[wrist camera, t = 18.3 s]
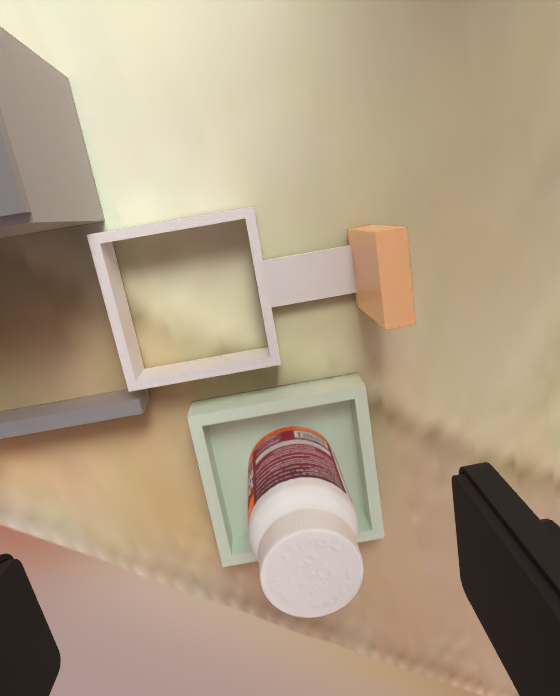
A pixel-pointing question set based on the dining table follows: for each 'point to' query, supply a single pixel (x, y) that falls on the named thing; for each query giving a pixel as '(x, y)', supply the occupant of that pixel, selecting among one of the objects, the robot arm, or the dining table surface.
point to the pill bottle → (302, 523)
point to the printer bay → (47, 203)
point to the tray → (264, 415)
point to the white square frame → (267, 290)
